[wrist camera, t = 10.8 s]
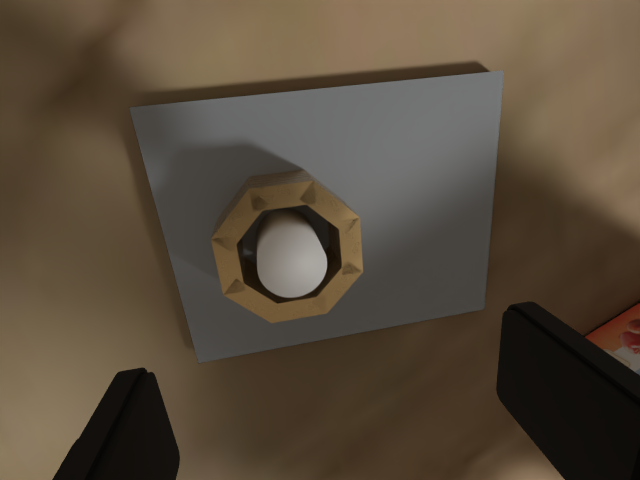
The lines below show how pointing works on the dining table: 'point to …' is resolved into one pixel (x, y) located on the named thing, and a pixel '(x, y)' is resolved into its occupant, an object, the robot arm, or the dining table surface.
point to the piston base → (347, 183)
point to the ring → (242, 273)
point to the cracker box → (621, 338)
